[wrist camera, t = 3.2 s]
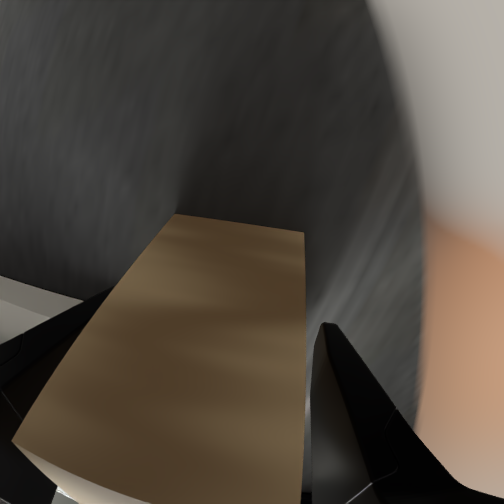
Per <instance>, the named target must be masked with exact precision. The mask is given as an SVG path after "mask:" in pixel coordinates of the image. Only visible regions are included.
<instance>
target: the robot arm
mask: <svg viewBox="0 0 504 504" xmlns="http://www.w3.org/2000/svg"><path fill="white" fill-rule="evenodd" d="M114 287H115V286H113V287H111V288H109V289H107V290H105V291H103V292H101V293H99V294H97V295H95V296H93V297H91V298H89V299H87V300H85V301H83V302H81V303H79V304H77V305H75V306H73V307H71V308H69V309H68V310H66V311H64V312H62V313H60V314H58V315H56V316H54V317H52V318H50V319H48V320H46V321H44V322H42V323H41V324H39V325H37V326H35V327H33V328H31V329H29V330H27V331H25V332H24V334H23V333H21V334H20V335H18V336H16V337H14V338H12V339H10V340H8V341H6V342H4V343H2V344H0V504H51V503H52V500H53V497H54V495H55V492H56V490H57V487H58V486H57V485H56V484H55V483H54V482H53V481H52V480H50V479H49V478H48V477H47V476H46V475H45V474H44V473H43V472H42V471H41V470H40V469H39V468H38V467H36V466H35V465H34V464H33V463H32V462H31V461H30V460H29V459H28V458H27V457H26V456H25V455H24V454H23V453H22V452H21V451H20V450H19V448H18V447H17V446H16V445H15V444H14V443H13V442H12V439H13V437H14V436H15V434H16V432H17V430H18V429H19V427H20V425H21V424H22V422H23V420H24V419H25V417H26V415H27V414H28V412H29V410H30V409H31V407H32V405H33V404H34V402H35V401H36V399H37V397H38V396H39V394H40V393H41V391H42V390H43V388H44V386H45V385H46V383H47V382H48V380H49V379H50V377H51V376H52V374H53V373H54V371H55V370H56V368H57V367H58V365H59V364H60V362H61V361H62V359H63V358H64V356H65V355H66V353H67V352H68V350H69V349H70V348H71V346H72V345H73V343H74V342H75V340H76V339H77V338H78V336H79V335H80V333H81V332H82V331H83V329H84V328H85V326H86V325H87V324H88V322H89V321H90V319H91V318H92V317H93V315H94V314H95V313H96V311H97V310H98V309H99V307H100V306H101V305H102V303H103V302H104V301H105V299H106V298H107V297H108V295H109V294H110V293H111V291H112V290H113V289H114ZM310 411H311V446H312V495H304V494H301V501H300V504H504V499H503V498H499V497H496V496H493V495H489V494H486V493H482V492H479V491H476V490H473V489H470V488H468V487H466V486H464V485H462V484H460V483H459V482H458V481H457V480H455V479H454V478H453V477H452V476H451V474H449V472H448V471H447V470H446V469H445V468H444V466H443V465H442V464H441V463H440V462H439V461H438V460H437V459H436V457H435V456H434V455H433V454H432V453H431V452H430V450H429V449H428V448H427V447H426V446H425V445H424V443H423V442H422V441H421V440H420V439H419V437H418V436H417V435H416V434H415V433H414V431H413V430H412V428H411V427H410V426H409V424H408V423H407V422H406V420H405V419H404V418H403V416H402V415H401V413H400V412H399V410H398V409H396V406H395V405H394V403H393V402H392V401H391V399H390V398H389V396H388V395H387V394H386V392H385V391H384V389H383V388H382V386H381V385H380V384H379V382H378V381H377V379H376V378H375V377H374V375H373V374H372V372H371V371H370V370H369V368H368V367H367V365H366V364H365V363H364V361H363V360H362V358H361V357H360V356H359V354H358V353H357V352H356V350H355V349H354V347H353V346H352V345H351V343H350V342H349V340H348V339H347V338H346V336H345V335H344V334H343V332H342V331H341V330H340V328H339V327H338V325H336V324H334V323H326V322H323V323H322V324H321V326H320V329H319V332H318V335H317V338H316V341H315V345H314V353H313V366H312V378H311V390H310Z"/></svg>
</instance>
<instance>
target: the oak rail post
mask: <svg viewBox="0 0 504 504" xmlns="http://www.w3.org/2000/svg"><path fill="white" fill-rule="evenodd" d="M305 392H306V282H305V245H304V233H303V232H297V231H290V230H284V229H278V228H271V227H264V226H258V225H251V224H244V223H237V222H230V221H223V220H216V219H209V218H202V217H195V216H188V215H180V214H174V215H173V216H172V217H171V219H170V220H169V221H168V222H167V223H166V224H165V226H164V227H163V228H162V229H161V230H160V232H159V233H158V234H157V235H156V236H155V238H154V239H153V240H152V241H151V242H150V244H149V245H148V246H147V247H146V248H145V250H144V251H143V252H142V253H141V255H140V256H139V257H138V258H137V260H136V261H135V262H134V263H133V265H132V266H131V267H130V268H129V270H128V271H127V272H126V273H125V275H124V276H123V277H122V278H121V280H120V281H119V282H118V284H117V285H116V286H115V287H114V289H113V290H112V291H111V293H110V294H109V295H108V297H107V298H106V299H105V301H104V302H103V303H102V305H101V306H100V307H99V309H98V310H97V311H96V313H95V314H94V315H93V317H92V318H91V319H90V321H89V322H88V324H87V325H86V326H85V328H84V329H83V331H82V332H81V333H80V335H79V336H78V338H77V339H76V340H75V342H74V343H73V345H72V346H71V348H70V349H69V350H68V352H67V353H66V355H65V356H64V358H63V359H62V361H61V362H60V364H59V365H58V367H57V368H56V370H55V371H54V373H53V374H52V376H51V377H50V379H49V380H48V382H47V383H46V385H45V386H44V388H43V390H42V391H41V393H40V394H39V396H38V397H37V399H36V401H35V402H34V404H33V405H32V407H31V409H30V410H29V412H28V414H27V415H26V417H25V419H24V420H23V422H22V424H21V425H20V427H19V429H18V430H17V432H16V434H15V436H14V437H13V439H12V442H13V443H14V444H15V445H16V446H17V447H18V448H19V450H20V451H21V452H22V453H23V454H24V455H25V456H26V457H27V458H28V459H29V460H30V461H31V462H32V463H33V464H34V465H35V466H36V467H38V468H39V469H40V470H41V471H42V472H43V473H44V474H45V475H46V476H47V477H48V478H49V479H50V480H52V481H53V482H54V483H55V484H56V485H57V486H58V487H60V488H61V489H62V490H63V491H64V492H66V493H67V494H68V495H69V496H70V497H72V498H73V499H74V500H75V501H77V502H78V503H79V504H300V501H301V487H302V470H303V451H304V427H305Z"/></svg>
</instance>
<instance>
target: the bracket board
mask: <svg viewBox="0 0 504 504" xmlns="http://www.w3.org/2000/svg"><path fill="white" fill-rule="evenodd" d="M81 302H83V301H82V300H78V299H75V298H71V297H67V296H64V295H60V294H57V293H53V292H50V291H47V290H43V289H40V288H37V287H34V286H30V285H27V284H24V283H21V282H18V281H15V280H12V279H9V278H6V277H3V276H0V344H2V343H4V342H6V341H8V340H10V339H12V338H14V337H16V336H18V335H20V334H21V333H23V334H24V332H25V331H27V330H29V329H31V328H33V327H35V326H37V325H39V324H41V323H42V322H44V321H46V320H48V319H50V318H52V317H54V316H56V315H58V314H60V313H62V312H64V311H66V310H68V309H69V308H71V307H73V306H75V305H77V304H79V303H81Z"/></svg>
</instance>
